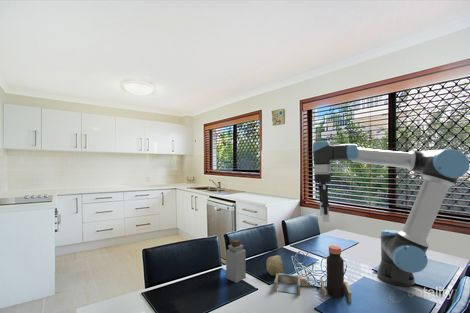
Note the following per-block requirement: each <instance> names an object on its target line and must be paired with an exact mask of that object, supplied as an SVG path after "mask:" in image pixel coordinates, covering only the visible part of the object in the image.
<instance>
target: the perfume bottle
mask: <svg viewBox="0 0 470 313" xmlns="http://www.w3.org/2000/svg"><path fill="white" fill-rule="evenodd" d="M230 242H231V244H229V245H228V249H226V251H225V255H226V256H225V269H226V270H225V278H226V280H230V281H231V282H234V283H236V284H237V283H238V282H241V281H243V280H245V279H246V276H247V275H246V273H247V272H246V268H247V265H246V262H247V260H246V256H247V255H246V251H247V250H246V249H244V245H243V244H241V240H239V239H233V240H231V241H230Z"/></svg>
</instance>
